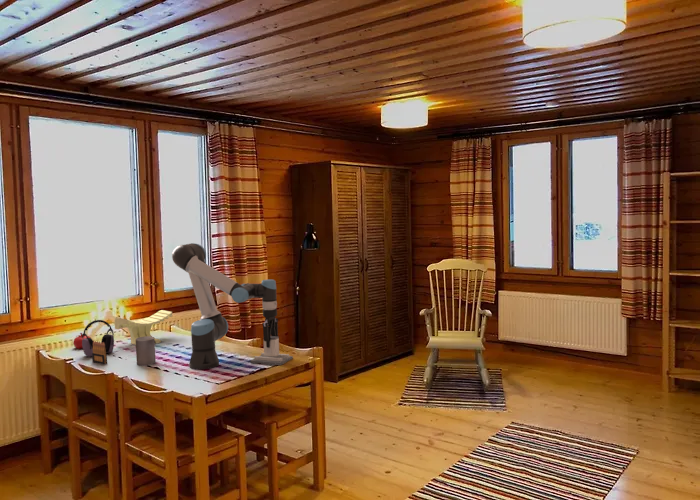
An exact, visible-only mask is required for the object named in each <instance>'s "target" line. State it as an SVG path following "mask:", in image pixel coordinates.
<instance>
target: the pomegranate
mask: <svg viewBox="0 0 700 500" xmlns="http://www.w3.org/2000/svg"><path fill="white" fill-rule="evenodd" d="M79 334H80V335H76V336H75V338H74V340H73V342H72V343H73V346H74V348H75V349H78V350H83V347H82V340H83V339H85V338H86V339H87V337H86V336H85V335H84V336H83V339H82V334H83V332H80V333H79ZM87 336H88V338H91V336H89V335H87ZM91 339H92V338H91Z"/></svg>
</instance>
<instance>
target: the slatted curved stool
mask: <svg viewBox="0 0 700 500" xmlns="http://www.w3.org/2000/svg"><path fill="white" fill-rule="evenodd" d="M170 317H173V311H169V310H164V309H161V310H158V311H157V312H156V313H153V314H152V315H150V316H149V317H145V318H142V319H138V320H128V319H126V318H123V317H122V318H121V317H118V316H117V317H115V318H114V329H115V330H121V329H125V328H127V330H128V332H129V336H130V344H133V345H135V346H136V338H139V337H145V336H152V334H151V329H152V327H153V325H156V324H161V322H162V323H163V322H164V321H165V320H168V319H169V318H170ZM154 340H155V344H160V343H162V342H161V340H160V339H159V338H156V337H155V338H154Z"/></svg>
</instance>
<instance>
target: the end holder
mask: <svg viewBox="0 0 700 500" xmlns="http://www.w3.org/2000/svg"><path fill="white" fill-rule="evenodd" d="M293 358H294V357H293V356H292V355H290V354H289V353H287V354H286V353H279V355H278V356H276V357H273V356H264V352H261V353H260V355H258V356H257V355H256V356H254V357H253V359H251V360H250V364H258V363H261V365H271V364H272V365H274V366H282V365H284V364H285V363H287V362H289V361H291V360H292V359H293Z"/></svg>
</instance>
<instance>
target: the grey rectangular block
mask: <svg viewBox="0 0 700 500" xmlns="http://www.w3.org/2000/svg"><path fill="white" fill-rule="evenodd" d="M262 338H263V353H264V356H273V357H276V356H278V355H279V354H280V342H279V341H280V339H279V338H280V336H279V335H278V336H271V340H270V341H271V343H272V353H271V354H270V353H267V349H266V341H264V337H262Z"/></svg>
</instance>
